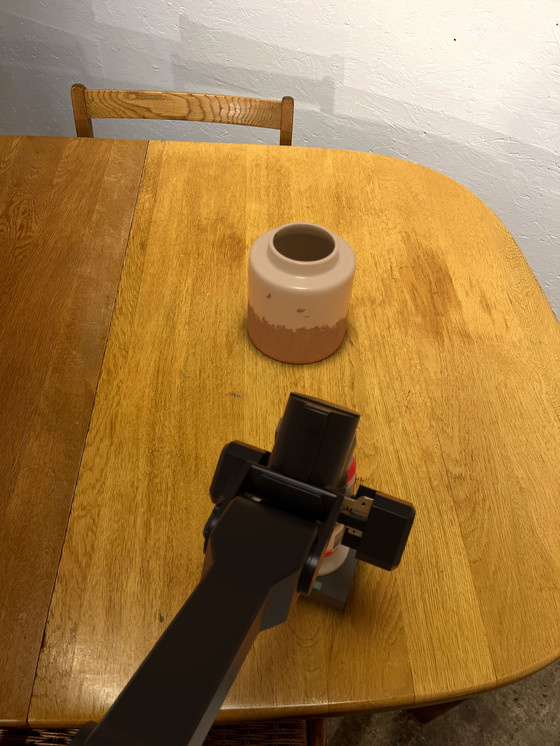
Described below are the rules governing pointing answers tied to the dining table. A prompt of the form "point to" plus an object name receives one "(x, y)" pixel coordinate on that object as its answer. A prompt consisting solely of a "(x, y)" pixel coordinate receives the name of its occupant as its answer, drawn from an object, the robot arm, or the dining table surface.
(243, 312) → the dining table surface
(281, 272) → the vase
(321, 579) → the scale
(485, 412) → the dining table surface
